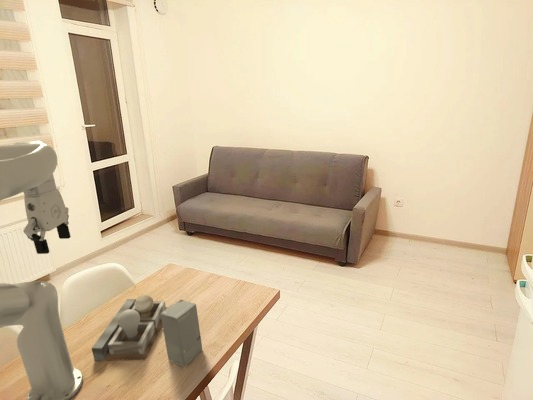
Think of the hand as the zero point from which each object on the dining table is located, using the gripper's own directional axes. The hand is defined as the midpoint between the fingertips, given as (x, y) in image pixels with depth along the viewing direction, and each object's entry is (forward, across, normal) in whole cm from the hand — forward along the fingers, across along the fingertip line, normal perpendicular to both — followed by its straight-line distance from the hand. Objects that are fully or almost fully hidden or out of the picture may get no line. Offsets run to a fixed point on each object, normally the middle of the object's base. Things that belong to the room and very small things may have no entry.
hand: (54, 245), depth 96 cm
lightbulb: (+33, -1, -18) cm, 37 cm away
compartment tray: (+33, +4, -16) cm, 37 cm away
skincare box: (+34, -6, -35) cm, 49 cm away
